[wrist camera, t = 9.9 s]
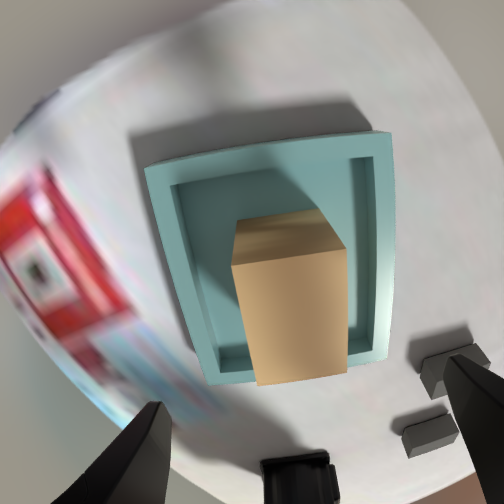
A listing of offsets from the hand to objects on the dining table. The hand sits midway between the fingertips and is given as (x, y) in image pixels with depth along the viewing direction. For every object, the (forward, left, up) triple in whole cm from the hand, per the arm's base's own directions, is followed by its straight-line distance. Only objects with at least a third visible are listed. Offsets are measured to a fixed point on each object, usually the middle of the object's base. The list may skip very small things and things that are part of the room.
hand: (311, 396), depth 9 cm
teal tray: (0, 0, -9) cm, 9 cm away
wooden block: (0, 0, -9) cm, 9 cm away
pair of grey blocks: (+12, -15, -9) cm, 21 cm away
